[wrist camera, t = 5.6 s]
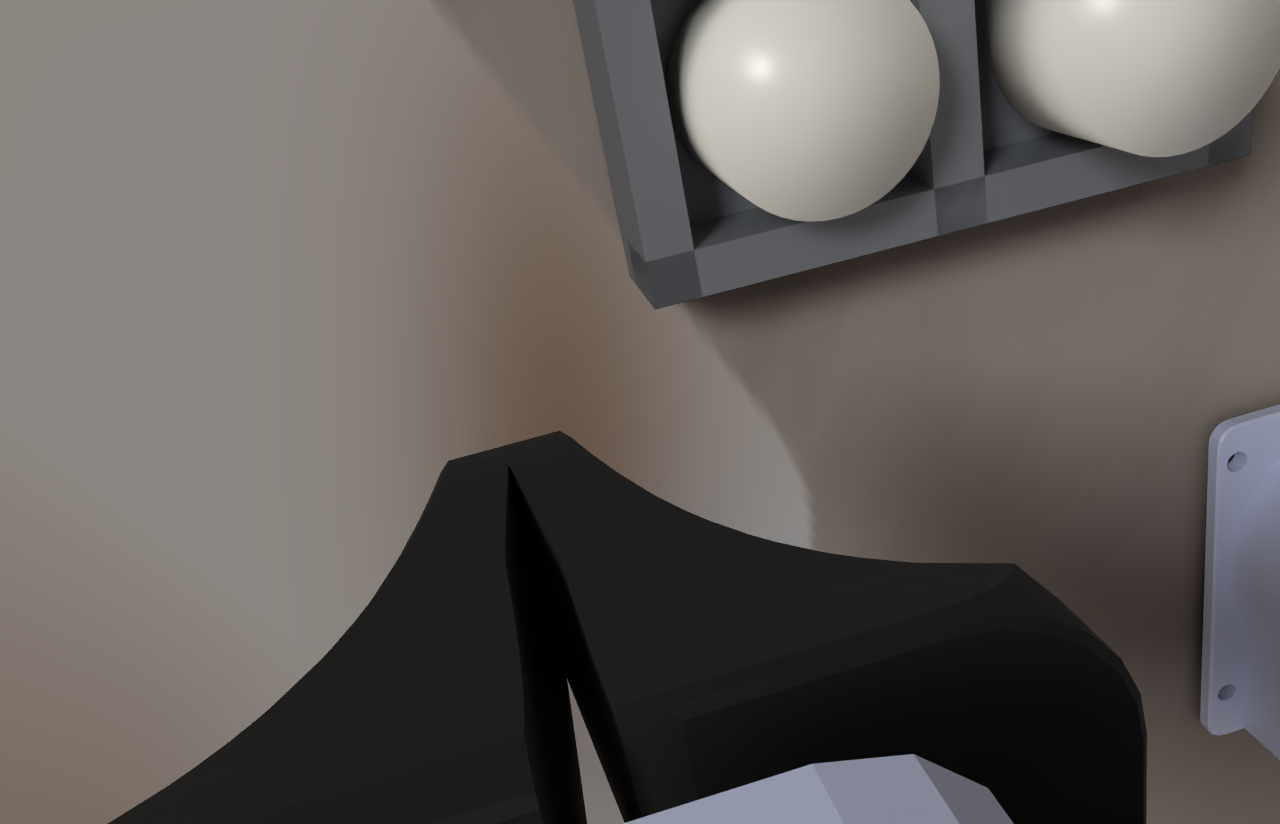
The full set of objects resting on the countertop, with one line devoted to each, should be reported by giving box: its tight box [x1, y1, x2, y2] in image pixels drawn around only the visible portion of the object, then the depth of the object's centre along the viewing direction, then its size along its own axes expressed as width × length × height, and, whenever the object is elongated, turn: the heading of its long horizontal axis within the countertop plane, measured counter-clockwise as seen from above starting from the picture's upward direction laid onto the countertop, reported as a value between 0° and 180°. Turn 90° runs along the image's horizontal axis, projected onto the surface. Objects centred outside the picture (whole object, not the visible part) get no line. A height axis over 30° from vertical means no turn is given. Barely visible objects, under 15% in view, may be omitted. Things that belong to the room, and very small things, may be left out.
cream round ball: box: [667, 0, 940, 222], centre depth 19 cm, size 4×4×3 cm
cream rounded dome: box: [987, 0, 1280, 157], centre depth 19 cm, size 4×4×3 cm
